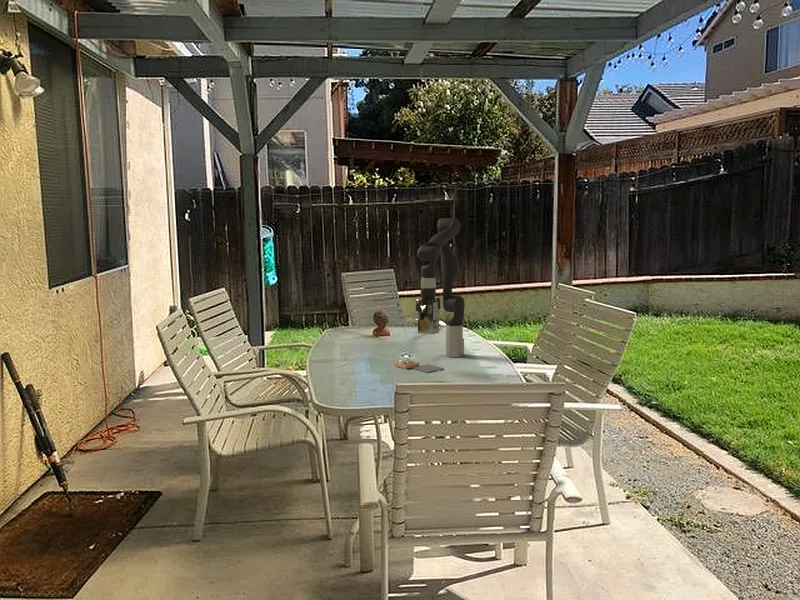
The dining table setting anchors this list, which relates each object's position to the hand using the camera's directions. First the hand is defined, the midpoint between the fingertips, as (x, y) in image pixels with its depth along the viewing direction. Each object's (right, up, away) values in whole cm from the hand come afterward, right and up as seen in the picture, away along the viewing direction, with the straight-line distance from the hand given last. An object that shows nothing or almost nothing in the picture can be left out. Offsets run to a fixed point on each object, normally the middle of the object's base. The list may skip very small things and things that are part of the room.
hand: (428, 319), depth 343 cm
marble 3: (-10, -23, +7) cm, 26 cm away
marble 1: (-13, -22, +9) cm, 28 cm away
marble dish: (-11, -25, +9) cm, 28 cm away
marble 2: (-10, -22, +11) cm, 27 cm away
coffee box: (0, -7, +1) cm, 7 cm away
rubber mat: (0, -25, +3) cm, 26 cm away
